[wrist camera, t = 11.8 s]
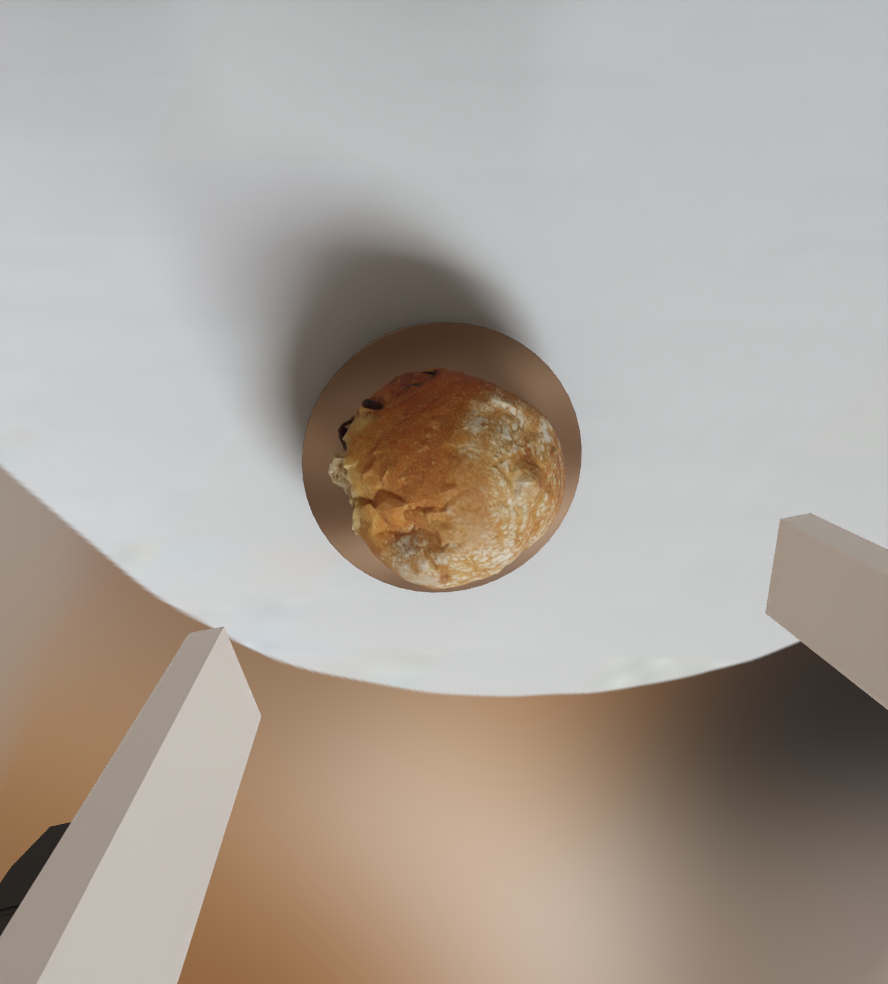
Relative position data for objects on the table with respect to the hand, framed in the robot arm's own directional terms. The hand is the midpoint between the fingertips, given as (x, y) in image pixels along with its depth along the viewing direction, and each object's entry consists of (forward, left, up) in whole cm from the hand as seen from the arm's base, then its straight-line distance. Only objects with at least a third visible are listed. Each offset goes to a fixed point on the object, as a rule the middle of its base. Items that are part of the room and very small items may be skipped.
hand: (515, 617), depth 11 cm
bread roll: (0, 0, -13) cm, 13 cm away
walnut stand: (0, 0, -17) cm, 17 cm away
